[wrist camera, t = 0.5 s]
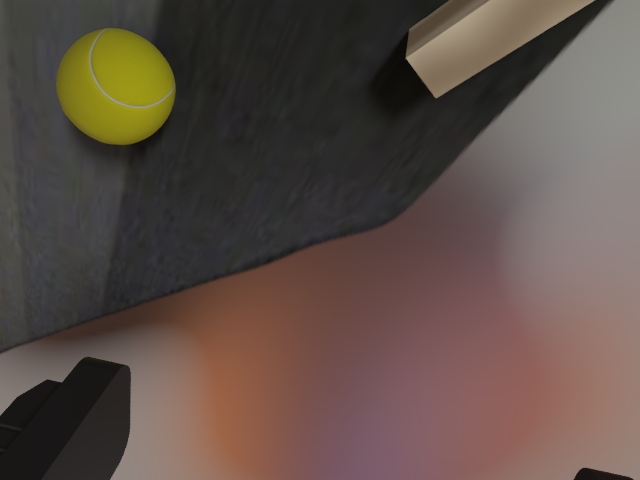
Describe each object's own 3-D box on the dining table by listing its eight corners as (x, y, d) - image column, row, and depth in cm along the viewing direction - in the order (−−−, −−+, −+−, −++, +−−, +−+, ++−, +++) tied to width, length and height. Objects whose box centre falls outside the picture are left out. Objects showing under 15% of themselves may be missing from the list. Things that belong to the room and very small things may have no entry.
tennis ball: (155, 127, 42) (114, 182, 37) (73, 59, 39) (16, 110, 34) (209, 68, 38) (171, 121, 32) (120, -12, 35) (65, 33, 30)
